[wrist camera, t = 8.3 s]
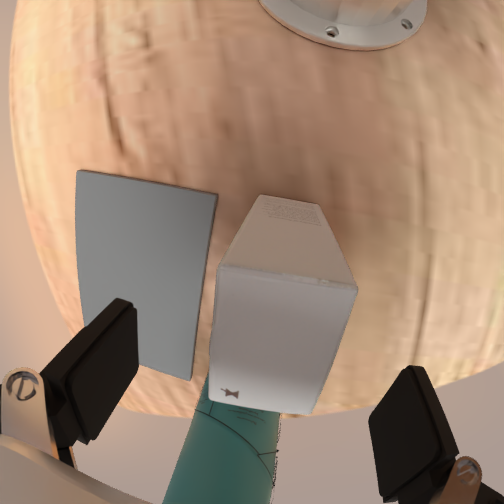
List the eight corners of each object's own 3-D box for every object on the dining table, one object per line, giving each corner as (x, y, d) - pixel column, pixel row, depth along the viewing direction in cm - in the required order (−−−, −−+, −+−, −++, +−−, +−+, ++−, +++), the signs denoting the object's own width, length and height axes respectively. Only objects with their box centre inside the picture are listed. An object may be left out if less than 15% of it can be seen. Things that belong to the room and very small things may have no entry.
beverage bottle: (216, 382, 26) (154, 571, 7) (210, 329, 23) (114, 562, 5) (283, 388, 25) (258, 592, 7) (288, 335, 23) (260, 598, 4)
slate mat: (81, 169, 20) (76, 170, 19) (217, 194, 19) (215, 196, 19) (90, 339, 27) (87, 342, 26) (191, 377, 26) (189, 381, 26)
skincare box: (305, 282, 21) (310, 419, 10) (247, 273, 21) (203, 402, 10) (322, 201, 18) (364, 289, 7) (258, 190, 19) (209, 263, 8)
